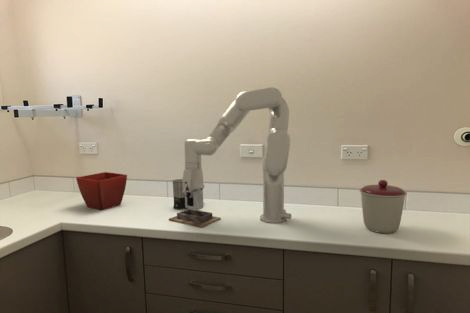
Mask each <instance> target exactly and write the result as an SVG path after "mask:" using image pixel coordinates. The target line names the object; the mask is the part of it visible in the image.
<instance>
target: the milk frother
mask: <svg viewBox="0 0 470 313" xmlns="http://www.w3.org/2000/svg"><path fill="white" fill-rule="evenodd" d="M171 182H172V190H173V192H172V193H173V209H174V210H187V209H188V208H185V194H184V193H182V191H183V178H179V179H177V178H176V179H173V180H171Z"/></svg>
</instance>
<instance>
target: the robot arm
mask: <svg viewBox="0 0 470 313" xmlns="http://www.w3.org/2000/svg"><path fill="white" fill-rule="evenodd" d="M264 109H268V110H269V114H270V116H269V124H268V130H267V136H266V143H267V147H266V154H265V155H264V156H263V159H262V182H263V183H262V184H263V186H262V188H263V190H262V193H263V194H262V198H263V199H262V201H263V202H262V205H263V208H262V210H263V211H262V212H263V214H261V215H260V216H259V219H260V221H262V222H265V223H270V224H281V223H284V222H286V221H288V219H289V220H292V218H293V217H292V213H289V212H287V210H286V209H285V198H284V197H285V176H284V175H285V174H284V173H285V171H286V169H287V166H288V160H289V153H290V149H291V148H290V146H291V138H290V135H289V133H288V131H289V130H288V128H289V121H290V110H289V105H288V102H286V99H285V98H284V97H283V95H282V92H281V91H280V89H278V88H277V87H273V86H272V87H271V86H270V87H264V88H258V89H254V90H253V89H252V90H245V91H241V92H239V93H238V94H237V96H236V98H235V99H234V100H233V101H232V103H231V104H230V105H229V107H228V108H226V110H225V111H224V113H223V114H222V115H221V117H220V118H219V120H218V122H217V124H216V125H215V127H214V128H213V129H212V130H211V132H210V133H209V134H208V136H207V137H206V138H205V139H198V138H187V139H185V141H184V145H183V146H184V168H185V169H184V170H183V174H182V179H183V191H182V193H184V194H185V195H186V197H187V205H188V206H193V198H192V194H193V191H195V190H198V189H199V190H204V189H205V184H204V174H203V168H202V156H207V157H208V156H209V157H211V156H213V155H215V154H216V152H217V151H218V149H219V148H220V147H221V146H222V145H223V143H224V142H225V141H226V139H227V138H228V137H229V136H230V135H231V134H232V133H233V132H235V131H236V129H237V128H238V126H240V124H241V123H242V122H243V120H244V119H246V117H247V115H248V114H249V113H250V112H251V111H257V110H264ZM189 192H190V194H189Z"/></svg>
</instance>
